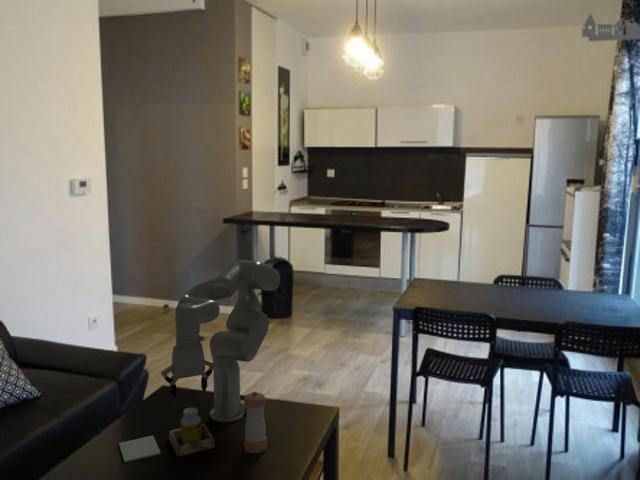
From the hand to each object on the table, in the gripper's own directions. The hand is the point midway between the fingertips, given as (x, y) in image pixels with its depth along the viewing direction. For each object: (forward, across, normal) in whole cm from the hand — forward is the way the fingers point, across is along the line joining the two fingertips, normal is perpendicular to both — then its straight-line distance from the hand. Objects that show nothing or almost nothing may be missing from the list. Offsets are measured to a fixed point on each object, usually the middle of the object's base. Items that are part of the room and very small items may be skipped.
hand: (189, 392), depth 179 cm
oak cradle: (+18, -1, 0) cm, 18 cm away
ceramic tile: (+18, +15, -4) cm, 24 cm away
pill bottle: (+18, -1, 0) cm, 18 cm away
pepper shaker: (+18, -19, +12) cm, 28 cm away
